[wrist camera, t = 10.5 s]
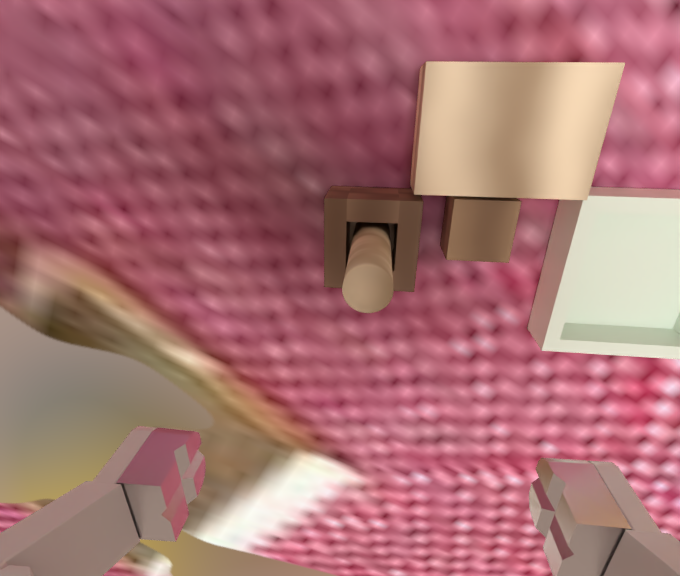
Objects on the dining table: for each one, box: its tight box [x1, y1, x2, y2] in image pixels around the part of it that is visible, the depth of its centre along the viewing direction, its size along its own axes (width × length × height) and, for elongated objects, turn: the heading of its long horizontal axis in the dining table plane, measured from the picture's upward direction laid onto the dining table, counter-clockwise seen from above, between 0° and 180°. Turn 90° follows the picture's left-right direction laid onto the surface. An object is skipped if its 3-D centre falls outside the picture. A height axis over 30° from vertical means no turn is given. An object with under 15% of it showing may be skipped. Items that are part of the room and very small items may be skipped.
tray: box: [527, 187, 680, 359], centre depth 27 cm, size 11×11×3 cm
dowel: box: [342, 222, 393, 313], centre depth 24 cm, size 2×2×10 cm
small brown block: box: [440, 196, 521, 263], centre depth 26 cm, size 4×4×3 cm
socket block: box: [324, 186, 423, 292], centre depth 27 cm, size 6×6×4 cm
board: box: [410, 62, 625, 200], centre depth 24 cm, size 10×7×4 cm
